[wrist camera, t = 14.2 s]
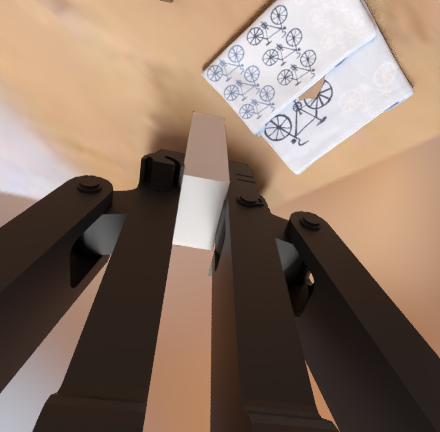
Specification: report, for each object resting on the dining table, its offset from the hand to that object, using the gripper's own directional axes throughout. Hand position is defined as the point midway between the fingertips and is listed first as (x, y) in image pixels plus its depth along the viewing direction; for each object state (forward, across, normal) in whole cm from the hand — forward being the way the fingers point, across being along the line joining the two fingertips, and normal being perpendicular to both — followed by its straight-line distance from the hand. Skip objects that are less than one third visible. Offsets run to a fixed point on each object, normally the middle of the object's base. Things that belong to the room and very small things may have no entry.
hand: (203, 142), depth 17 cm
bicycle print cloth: (+30, +13, -1) cm, 33 cm away
